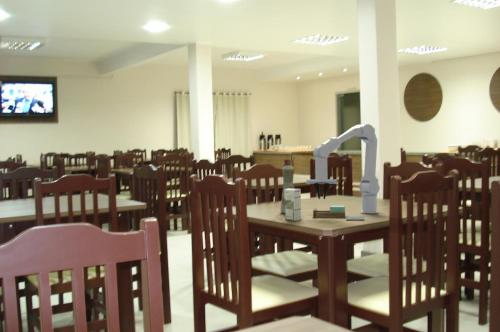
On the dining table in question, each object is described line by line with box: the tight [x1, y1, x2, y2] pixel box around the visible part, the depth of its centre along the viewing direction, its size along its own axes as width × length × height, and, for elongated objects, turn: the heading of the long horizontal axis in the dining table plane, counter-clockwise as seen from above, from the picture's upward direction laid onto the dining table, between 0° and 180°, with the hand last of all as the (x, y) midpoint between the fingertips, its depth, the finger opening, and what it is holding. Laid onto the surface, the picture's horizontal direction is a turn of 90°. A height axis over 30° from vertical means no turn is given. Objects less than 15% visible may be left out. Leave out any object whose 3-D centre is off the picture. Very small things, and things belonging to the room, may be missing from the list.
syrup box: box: [284, 188, 302, 222], centre depth 251 cm, size 6×6×14 cm
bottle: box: [280, 157, 295, 215], centre depth 273 cm, size 9×9×28 cm
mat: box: [345, 216, 365, 222], centre depth 249 cm, size 8×8×1 cm
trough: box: [312, 207, 346, 219], centre depth 259 cm, size 8×15×4 cm, turn 80°
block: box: [329, 205, 346, 214], centre depth 258 cm, size 4×7×5 cm, turn 80°
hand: (321, 198), depth 259 cm, fingers closed
